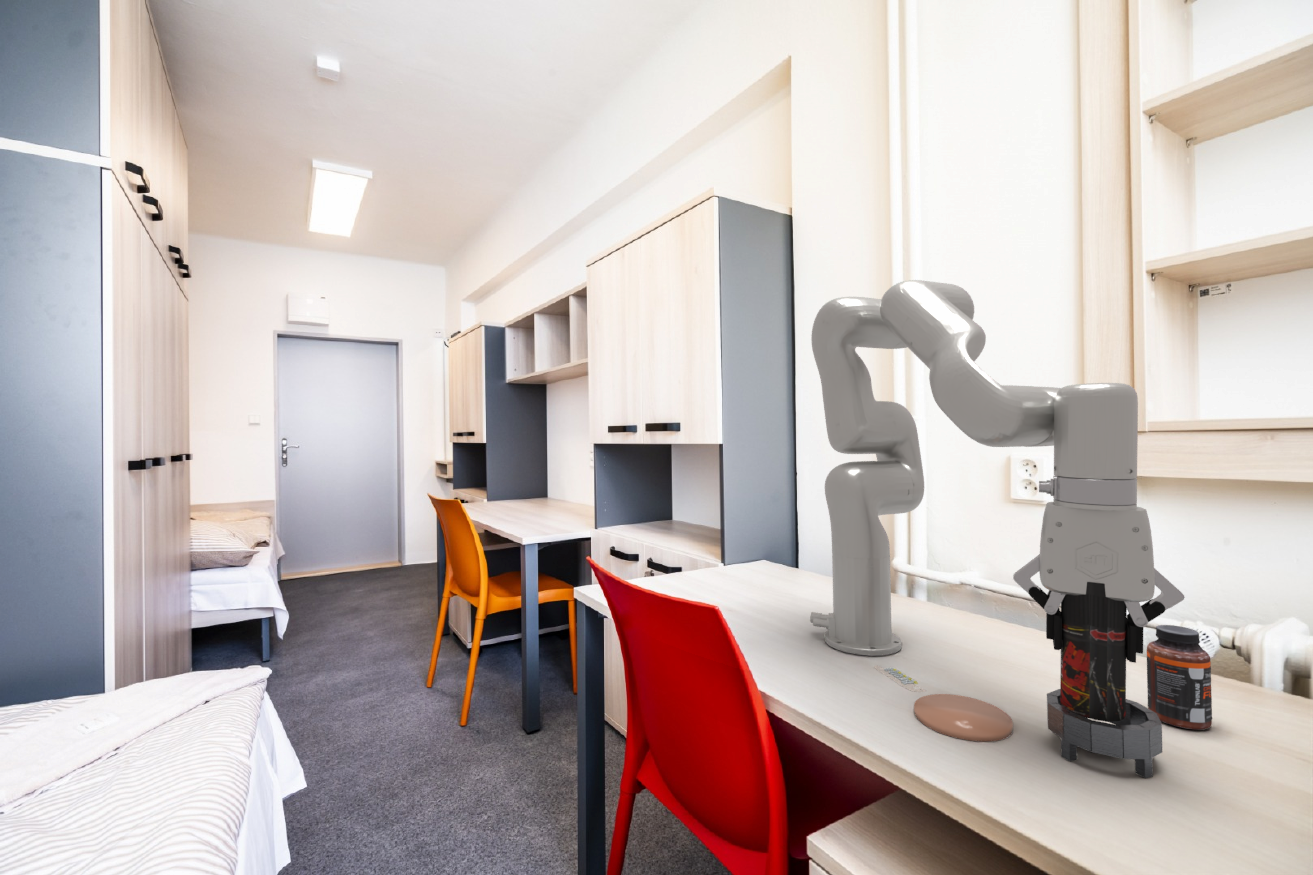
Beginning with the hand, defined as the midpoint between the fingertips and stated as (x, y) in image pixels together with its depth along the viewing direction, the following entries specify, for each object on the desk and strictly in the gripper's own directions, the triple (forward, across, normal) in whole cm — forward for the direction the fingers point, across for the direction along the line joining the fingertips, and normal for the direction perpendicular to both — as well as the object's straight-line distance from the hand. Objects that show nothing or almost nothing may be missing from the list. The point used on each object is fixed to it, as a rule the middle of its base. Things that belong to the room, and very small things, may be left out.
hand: (1092, 650), depth 66 cm
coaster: (+11, -13, 0) cm, 17 cm away
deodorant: (+7, 0, 0) cm, 7 cm away
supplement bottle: (+11, +10, +13) cm, 20 cm away
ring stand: (+11, +1, -1) cm, 11 cm away
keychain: (+12, -22, +10) cm, 27 cm away
